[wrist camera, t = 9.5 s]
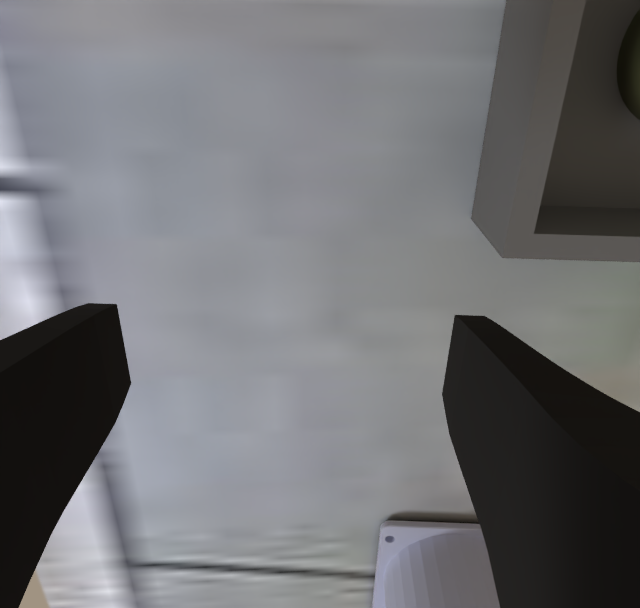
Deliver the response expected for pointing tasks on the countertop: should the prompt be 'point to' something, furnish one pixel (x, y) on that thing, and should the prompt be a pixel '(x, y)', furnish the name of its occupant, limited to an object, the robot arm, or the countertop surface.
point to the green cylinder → (630, 67)
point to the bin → (560, 136)
